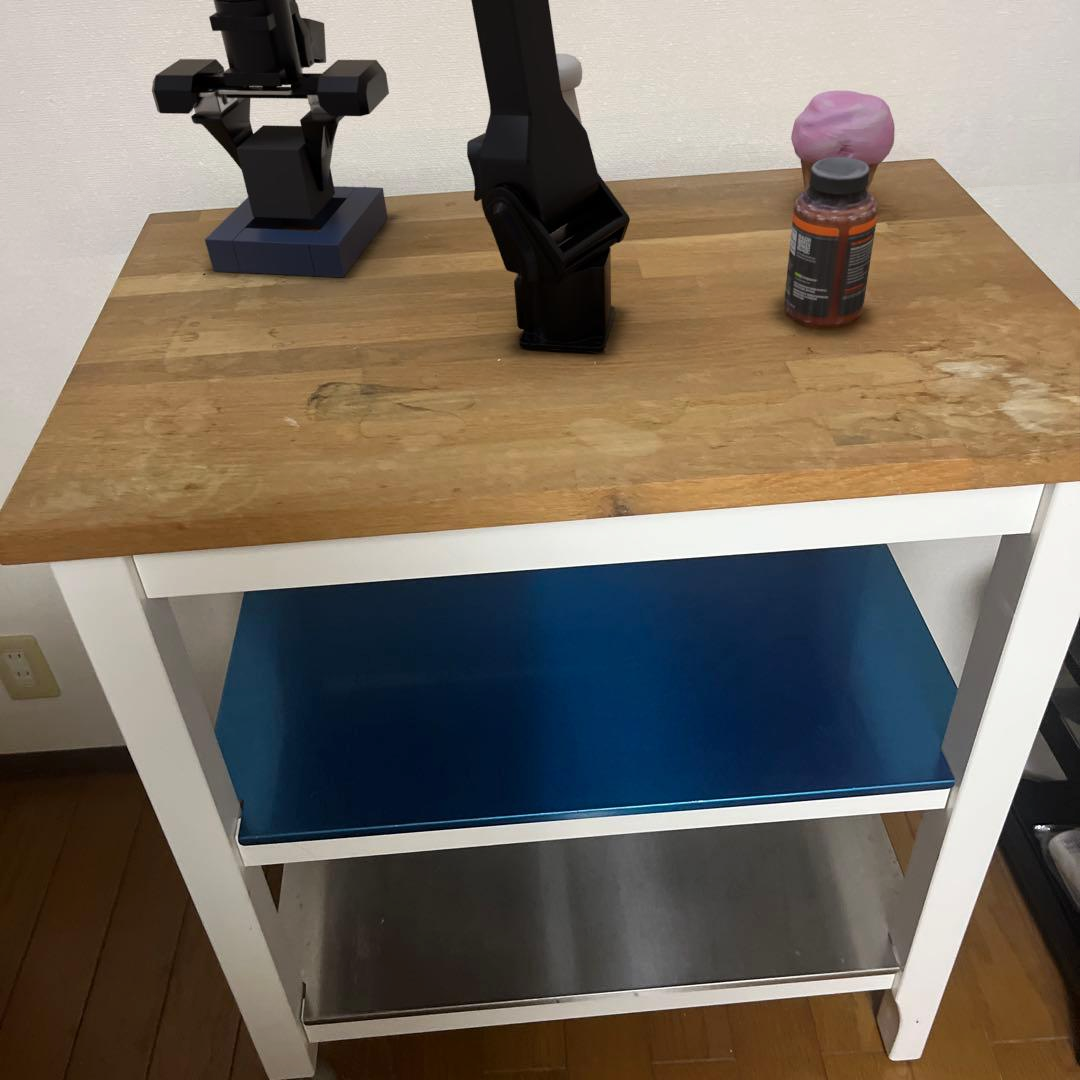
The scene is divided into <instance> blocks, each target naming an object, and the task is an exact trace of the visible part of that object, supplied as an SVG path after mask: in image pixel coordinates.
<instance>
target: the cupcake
mask: <svg viewBox="0 0 1080 1080" xmlns="http://www.w3.org/2000/svg"><path fill="white" fill-rule="evenodd" d="M895 132H896V131H895V122H894V117H893V115H892V112H891V108H890V105H888V104H887V102H886V101H885V100H884V99H883V98H881V97H879V96H877V95H873V94H867V93H861V92H857V91H851V90H829V91H823V92H820V93H818V94H816V95H814V96H813V97H812V98H811V100H810V102H809V103H808V104H807V106H806V107H804V109H803V111H802V112H801V113H799V115H798V116H797V117H796V118H795V119H794V122H793V127H792V130H791V136H790V139H791V143H792V146H793V150H794V153H795V155H796V156H797V157H798V159H800V167H801V173H802V180H803V187H804V191H806V190H807V189H808V188H809V187H810V184H809V182H810V177H811V169H812V165H814V164H815V163H816V162H817V161H820V160H823V159H826V158H834V157H845V158H853V159H857V160H860V161H862V162H864V163H866V164H867V165H868V166H869V169H870V172H869V178H868V182H869V184H868V186H867V188H866V191H868V192H869V189H870V186H871V184H872V183H873V180H874V179H873V178H874V176H875V174H876V171H877V168H878V166H879V164H880V163H883V161H884V160H885V159H886V158H887V156H889V155H890V153H891V151H892V148H893V147H894V143H895Z"/></svg>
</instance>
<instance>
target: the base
mask: <svg viewBox="0 0 1080 1080" xmlns="http://www.w3.org/2000/svg"><path fill="white" fill-rule="evenodd" d="M334 190H335V194H334V196H333V197H332V198H331V199H330V200H329V201H328V202H327V204H326V205H325V206H324V207H323V208H322V209H321V210H320V211H319V213H318V214H317V215H316V216H315V217H314V218H313V219H291V218H263V217H253V214H252V210H251V206H250V202H249V198H248V197H246V198H245V200H243V201H242V202H241V203H240V204H239V205H238V206H237V207H236V208H235V209H234V210H233V211H232V212H231V213H230V214H229V215H228V216H226V218H224V220H223V221H222V222H221V223H220V224H219V225H218V226H217V227H215V229H214V230H213V231H212V232H211V233H210V234H209V235H207V237H205V238H204V242H205V245H206V246H205V247H206V249H207V253H208V257H209V261H210V263H211V267H212V270H213V272H215V273H216V272H219V273H237V274H238V273H242V274H261V275H262V274H263V275H283V276H304V277H322V278H324V277H325V278H345V276H346V275H348V273H349V271H350V270H351V268H352V267H353V266H354V265H355V263H356V262H357V260H358V259H359V258H360V256H361V255H362V254H363V253H364V251H365V250H366V249H367V248H368V245H369V244H370V243H371V242H372V240H373V239H374V238H375V237H376V235H377V234H378V232H379V231H380V230H381V228H382V227H383V225H384V224H385V223H386V221H387V220H388V218H389V217H388V212H387V204H386V199H385V198H386V197H385V192H384V187H378V186H377V187H376V186H375V187H374V186H372V187H371V186H337V185H335V186H334ZM283 227H291V228H292V227H293V228H294V227H296V228H317V229H318V228H321V229H320V230H307V229H282V228H283Z"/></svg>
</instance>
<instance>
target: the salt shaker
mask: <svg viewBox="0 0 1080 1080" xmlns="http://www.w3.org/2000/svg"><path fill="white" fill-rule="evenodd" d="M556 57H557V64H558V71H559V79H560V86H561V92H562V95H563V98H564V100H565V101H566V103H567V104H568V106H569V107H570V108H571V110H572V111H573V113H574V114H575V115H576V117H577V118H578V120H579V121H580V122H581V124H582V125H583V122H582V118H581V113H580V108H579V103H578V99H577V93H576V88H578V87H579V86H580V85H581V83H582V80H583V67H582V62H581V61H580V60H579V59H578V58H577V57H576V56H575V55H573V54H569V53H568V54H567V53H556Z"/></svg>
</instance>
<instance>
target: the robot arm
mask: <svg viewBox="0 0 1080 1080" xmlns="http://www.w3.org/2000/svg"><path fill="white" fill-rule="evenodd" d="M470 1H471V7H472V12H473V13H472V14H473V19H474V24H475V29H476V30H475V31H476V35H477V41H478V47H479V51H480V57H481V63H482V67H483V69H482V70H483V73H484V81H485V86H486V90H487V97H488V103H489V116H488V121H487V124H486V129H485V132H484V133H481V134H480V135H478V136H476V137H473V138H472V139H469V140H468V141H467V143H466V156H467V160H468V163H469V166H470V170H471V173H472V176H473V184H474V192H473V200H474V202H479V201H480V202H481V208H482V211H483V214H484V217H485V219H486V221H487V223H488V225H489V227H490V229H491V232H492V235H493V238H494V240H495V243H496V246H497V250H498V252H499V255H500V257H501V260H502V263H503V265H504V268H505V269H506V271H507V272H511V273H513V274H516V276H515V278H514V280H513V287H514V300H515V301H514V302H515V312H516V313H515V314H516V326H517V328H518V329H519V330H522V333H521V334H520V337H519V339H518V344H519V347H520V348H521V349H532V350H548V351H566V352H579V353H580V352H581V353H582V352H583V353H603V352H604V351H605V349H606V346H607V343H608V340H609V336H610V333H611V329H612V327H613V323H614V320H615V317H616V307H615V306H614V305H612V259H611V258H612V254H611V252H612V251H611V250H612V249H611V247H613V246H614V245H615V244H619V243H621V242H622V241H624V240H625V237H626V233H627V231H628V228H629V225H630V223H631V217H630V215H629V214H628V213H627V211H626V210H625V208H624V207H623V205H622V204H621V203H620V201H619V200H618V199H617V197H616V196H615V195H614V193H613V191H611V189H610V188H609V186H608V185H607V183H606V182H605V180H604V179H603V178H602V176H601V175H600V173H599V172H598V168H597V165H596V161H595V157H594V153H593V149H592V145H591V143H590V138H589V135H588V132H587V130H586V128H585V127H584V125H583V123H582V124H581V122H582V121H581V122H580V121H579V120H578V118H577V117H576V115H575V114H574V113H573V111H572V110H571V108H570V107H569V106H568V104H567V103H566V101H565V100H564V98H563V95H562V92H561V86H560V79H559V71H558V64H557V57H556V54H557V52H556V51H557V50H556V44H555V37H554V30H553V22H552V14H551V7H550V1H549V0H470ZM213 5H214V9H215V12H214V13H213V14H211V15H209V16H208V19H209V23H210V27H211V32H220V35H221V39H222V42H223V46H224V50H225V54H226V55H225V56H226V58H227V63H228V67H229V68H227V69H226V70H225V67H224V66H223V65H222V64H221V63H220V62H219V61H218V60H217V58H179V59H178V60H177V61H175V62H173V63H172V64H171V65H169V66H167V67H166V68H164V69H163V70H161V71H159V73H157V74H155V76H154V78H153V80H152V84H151V85H152V86H151V94H152V96H153V101H154V104H155V107H156V111H157V113H159V114H174V115H175V114H176V115H179V114H182V115H183V114H184V115H188V114H190V113H192V112H193V110H194V114H192V115H191V116H190V117H191V121H192V123H193V124H195V125H202V126H203V128H204V129H205V130H206V131H207V132H208V133H209V134H210V135H211V136H212V137H213V138H214V139H215V140H216V141H217V143H218V144H219V145H220V146H221V147H222V148H223V149H224V150H225V151H226V153H227V154H228V155H229V156H230V157H231V158H232V160H233V161H234V162H235V164H236V165H237V166H238V168H239V169H240V170H241V166H240V162H239V157H238V153H237V148H238V147H239V146H240V145H241V144H242V143H243V142H245V141H246V140H247V139H248V138H249V137H250V136H251V135H253V134H254V131H253V127H252V123H251V99H283V100H284V99H287V100H288V99H292V100H294V99H296V100H297V99H298V100H299V99H300V100H301V99H302V100H307V102H308V105H309V107H310V110H309V111H308V112H307V113H306V114H305V115H304V116H303V117H302V118H300V119H299V122H300V126H301V127H302V131H303V136H304V140H305V144H306V148H307V152H308V156H309V160H310V165H311V169H312V173H313V176H314V179H315V182H316V184H317V187H318V189H319V191H324V190H325V189H326V187H327V184H328V177H329V170H330V169H331V163H332V155H333V151H334V150H333V149H334V144H335V138H336V133H337V130H338V126H339V123H340V122H341V121H342V120H343V119H344V118H345V117H363V116H364V117H365V116H369V115H370V114H371V113H372V112H373V111H374V110H375V109H376V108H377V107H378V106H379V105H380V104H381V103H382V102H383V101H384V99H385V98H386V97H387V96H388V95H389V94H390V92H389V91H390V90H389V82H388V76H387V72H386V71H385V69H384V67H383V66H382V65H381V63H380V62H379V61H378V60H377V59H337V60H335V62H334V63H332V64H331V65H330V66H329V67H328V68H327V69H325V70H324V71H323V72H322V73H321V72H319V73H313V72H311V73H309V72H307V73H304V71H303V69H304V68H305V69H306V68H311V67H312V66H313V65H314V64H326V63H327V52H326V51H327V49H326V30H325V22H322V21H319V20H315V19H312V18H309V17H302V16H301V14H300V10H299V5H298V2H297V1H296V0H213Z"/></svg>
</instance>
